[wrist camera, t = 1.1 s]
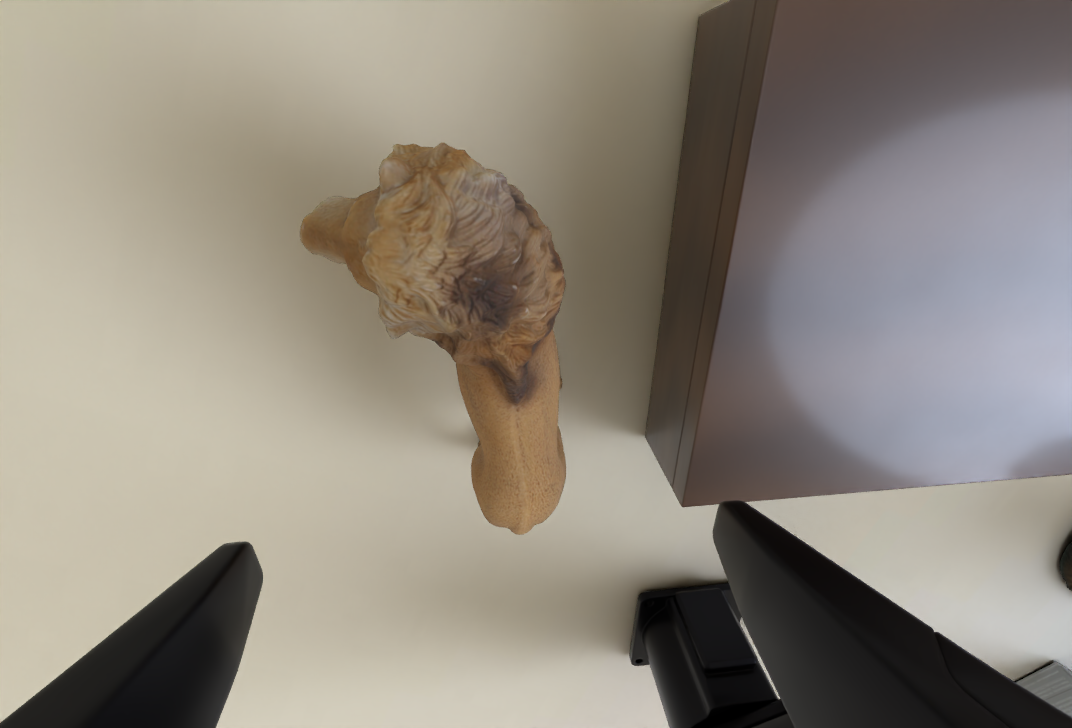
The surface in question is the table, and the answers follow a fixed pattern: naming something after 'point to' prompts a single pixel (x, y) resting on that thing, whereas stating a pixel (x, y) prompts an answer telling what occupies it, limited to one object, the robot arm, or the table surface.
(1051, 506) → the table surface
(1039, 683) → the cosmetic box
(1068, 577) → the owl figurine
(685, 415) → the shelf
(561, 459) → the lion figurine
